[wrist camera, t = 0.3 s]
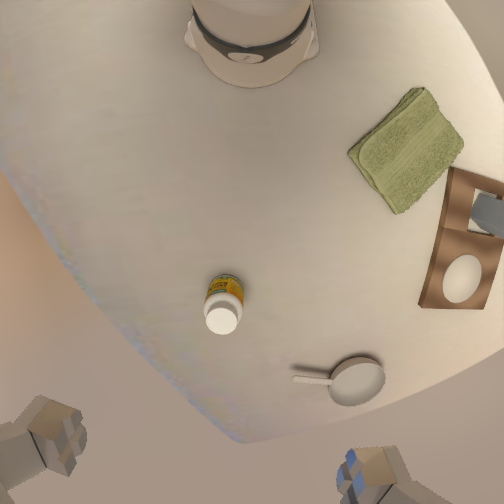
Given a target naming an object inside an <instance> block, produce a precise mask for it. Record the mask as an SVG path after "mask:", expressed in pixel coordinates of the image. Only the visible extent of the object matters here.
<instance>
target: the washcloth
mask: <svg viewBox="0 0 504 504" xmlns="http://www.w3.org/2000/svg"><path fill="white" fill-rule="evenodd" d="M463 147H464V142H463V140H462V138H461V137H460V136H459V134H458V133H457V132H456V131H455V129H454V127H453V126H452V125H451V123H450V122H449V121H448V120H446V119H445V117H444V116H443V114H442V113H441V112H440V110H439V107H438V105H437V102H436V101H435V99H434V98H433V96H432V94H430V92H429V91H428V90H427V89H426V88H425V87H422V88H419V89H418V88H415V89H414V88H413V89H411V91H410V92H409V93H408V94H406V95H405V97H404V99H402V101H401V102H400V104H399V105H398V106H397V107H396V108H395V109H394V110H393V111H392V112H391V113H389V115H388V117H387V118H385V120H383V121H382V123H379V125H378V126H376V128H375V129H374V131H372V132H371V133H370V134H369V135H367V136H366V137H365V138H364V139H362V140H361V142H360V143H359V144H357V145H356V146H354V148H353V149H351V150H350V151H349V153H348V155H349V156H350V157H351V158H352V159H353V161H354V162H355V163H356V164H357V166H358V167H359V168H360V170H361V172H362V173H363V175H364V176H365V178H366V179H367V181H368V182H369V183H370V185H371V186H372V187H373V188H374V189H375V190H376V191H377V192H379V193H380V194H381V195H382V197H383V198H384V199H385V201H386V202H387V203H388V205H389V206H390V208H391V209H392V211H393V213H394V214H395V215H397V214H400V213H404V211H405V210H407V209H409V208H410V206H412V204H414V203H415V202H417V201H418V200H419V199H420V198H421V196H422V194H424V193H425V191H426V192H427V189H428V188H429V187H431V185H432V184H433V183H434V182H435V180H437V179H438V178H439V177H440V176H441V175H442V173H443V172H444V171H445V170H446V168H449V166H450V165H451V164H452V163H453V162H454V159H455V158H456V156H457V155H458V153H460V151H461V150H462V148H463Z"/></svg>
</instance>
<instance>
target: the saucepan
mask: <svg viewBox="0 0 504 504" xmlns="http://www.w3.org/2000/svg"><path fill="white" fill-rule="evenodd" d="M385 380H386V376H385V372H384V370H383V369H382V367H381V366H380V365H379V364H378V363H377V362H376V361H374V360H372V359H369V358H365V357H355V358H351V359H348V360H346V361H344V362H342V363H341V364H340V365H339V366H338V367H337V368H336V369H335V370H334V372H333V373H332V375H331V377H330V379H327V378H316V377H307V376H298V375H294V376H293V377H292V381H294V382H303V383H313V384H324V385H328V388H329V395H330V398H331V399H332V401H333V402H334V403H336V404H338V405H341V406H346V407H351V406H357V405H361V404H364V403H366V402H368V401H370V400H371V399H373V398H374V397H375V396H376V395H377V394H378V393H379V392H380V391H381V390H382V388H383V386H384V384H385Z"/></svg>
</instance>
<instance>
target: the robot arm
mask: <svg viewBox="0 0 504 504" xmlns="http://www.w3.org/2000/svg"><path fill="white" fill-rule="evenodd" d="M190 2H191V3H192V7H191V12H193V16H192V18H191V20H190V21H189V22H188V28H187V31H186V33H185V36H184V41H185V44H186V45H187V46H188V47H189V48H191V49H192V50H194V51H195V52H197V53H198V54H199V55H200V56H201V58H202V59H203V61H204V63H205V64H206V66H207V67H208V69H209V70H210V71H211V72H212V73H213V74H214V75H215V76H217V77H218V78H220V79H221V80H223V81H225V82H227V83H229V84H232V85H235V86H239V87H246V88H257V87H264V86H268V85H271V84H274V83H276V82H278V81H280V80H282V79H283V78H285V77H286V76H288V75H289V74H290V73H291V72H292V71H293V70H294V69H295V68H296V67H297V66H298V65H299V64H300V63H301V62H304V61H306V60H309V59H311V58H313V57H315V56H316V55H317V54H318V52H319V42H318V35H317V28H316V22H315V16H314V10H313V4H312V0H190ZM311 42H312V43H311ZM82 419H83V417H82V414H81V411H79V410H77V409H75V408H72V407H69V406H67V405H64V404H62V403H59V402H57V401H54V400H52V399H49V398H47V397H44V396H42V395H38V396H36V397H35V398H34V400H33V401H32V402H31V403H30V404H29V405H28V406H27V407H26V409H25V410H24V411H23V412H22V413H21V415H20V416H19V417H18V418H17V419H16V421H15V422H14V423H12V422H7V423H4V424H1V425H0V504H15V502H14V501H13V499H12V498H11V496H10V495H9V494H8V492H7V491H8V490H10V489H11V488H14V487H15V486H17V485H19V484H21V483H23V482H25V481H27V480H28V479H30V478H32V477H34V476H36V475H38V474H39V473H41V472H43V471H45V470H46V468H48V469H50V470H52V471H55V472H57V473H60V474H62V475H65V476H67V477H69V476H70V474H71V473H72V471H73V469H74V467H75V465H76V459H75V457H76V456H78V455H80V454H82V452H83V451H84V449H85V446H86V442H87V432H86V429H85V427H84V426H83V425H82V424H81V421H82ZM345 457H346V462H344V463H343V464H341V465H340V467H339V469H338V472H337V478H336V482H337V489H338V491H339V492H340V493H341V494H342V495H343V498H342V499H341V501H340V503H341V504H452V503H450V502H448V501H447V500H445V499H444V498H442V497H441V496H439V495H437V494H436V493H434V492H433V491H431V490H430V489H428V488H427V487H425V486H424V485H422V484H421V483H419V482H418V481H412V479H411V477H410V474H409V472H408V470H407V468H406V465H405V463H404V461H403V459H402V456H401V455H400V452H399V450H398V448H397V447H396V446H383V447H369V448H355V449H350V450H349V451H348V452H347V454H346V456H345Z"/></svg>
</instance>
